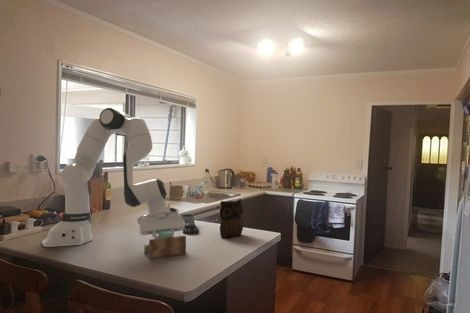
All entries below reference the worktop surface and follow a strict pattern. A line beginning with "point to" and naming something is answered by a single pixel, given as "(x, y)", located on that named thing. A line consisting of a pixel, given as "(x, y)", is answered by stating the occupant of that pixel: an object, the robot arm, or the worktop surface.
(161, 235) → the cabinet block
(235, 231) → the owl
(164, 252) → the board
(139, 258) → the worktop surface
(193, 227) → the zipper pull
